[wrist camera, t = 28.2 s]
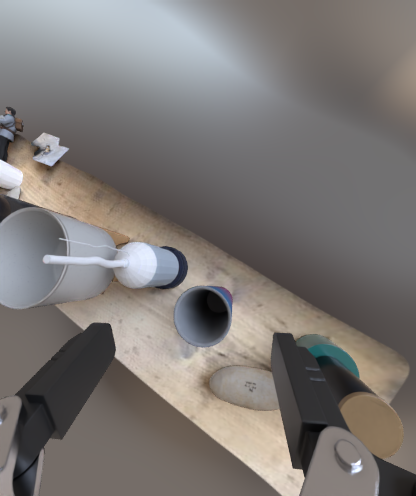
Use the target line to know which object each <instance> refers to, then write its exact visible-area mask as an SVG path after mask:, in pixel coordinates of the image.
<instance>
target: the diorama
mask: <svg viewBox="0 0 416 496" xmlns="http://www.w3.org/2000/svg"><path fill="white" fill-rule="evenodd" d="M59 140H60V138H57V137H55V136H52V135H49V134H46V133H43V134H42V135H41V136H40V137H39V138H37V139H36V140H34V141H33V142H32V143H31V144H32V145H34V146H37V147H38V148H39V150H37V151H36V152H35V153H34V156H33V160H36V161H39V162H41V163H44V164H47V165H49V166H52V165H53V164H54V163H55V162H56V161H57V160H58V159H59V158H60V157H61V156H62V155H64V154H65V153H66V151H68V150H69V148H66V147H62V146H59V145H58V142H59Z"/></svg>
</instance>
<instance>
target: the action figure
mask: <svg viewBox="0 0 416 496" xmlns="http://www.w3.org/2000/svg"><path fill="white" fill-rule="evenodd" d="M5 113H6V114H5V115H0V160H2V161H4V162H6V160H7V157H8V154H7V150H8V146H9V142H11V143H13V139H14V135H15V133H16V130H17V131H20V132H22V131H23V121H22V120H21V119H18V118H15V117H14V115H15V114H16V111H15V110H14V109H13V108H11V107H6V111H5Z"/></svg>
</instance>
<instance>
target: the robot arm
mask: <svg viewBox="0 0 416 496" xmlns="http://www.w3.org/2000/svg"><path fill="white" fill-rule="evenodd" d="M29 207H37V208H42V207H39V206H36V205H33V204H30V203H27V202H24V201H21V200H18V199H15V198H12V197H9V196H6V195H3V194H0V223H1V222H2V221H3V220H4V219H5V218H6V217H7V216H9V215H10V214H12V213H13V212H15V211H18V210H20V209H23V208H29ZM42 209H45V208H42ZM45 210H48V209H45ZM48 211H51V212H54V213H57V214H60V213H58V212H55V211H52V210H48ZM60 215H63V214H60ZM64 216H67V215H64ZM67 217H70V218H73V219H76V218H74V217H71V216H67ZM76 220H77V219H76ZM115 351H116V347H115V342H114V337H113V333H112V328H111V325H110V324H109V323H92V324H90V325H89V326H88V328H87V329H86V330H85V331H84V332H83V333H80V334H78V335H77V336H75V337H73V338H72V339H70V340H69V341H68V342H67V343H66V344H65V345H64V346H63V347H62V348H61V349H60V350H59V352H57V353H56V354H55V355H54V356H53V357H52V358H51V360H49V361H48V362H47V363H46V364H45V365H44V366H43V367H42V368H41V369H40V370H39V371H38V372H37V373H36V375H34V376H33V377H32V378H31V379H30V380H29V381H28V382H27V383H26V384H25V385H24V386H23V388H21V390H20V391H18V392H17V393H16V394H15V395H14V396H7V397H4V398H1V399H0V496H39V494H40V486H41V478H42V470H43V462H44V454H45V450H44V446H45V444H46V443H47V441H48V440H49V438H53V439H63V437H64V435H65V434H66V432H67V431H68V429H69V428H70V426H71V425H72V423H73V421H74V420H75V418H76V416H77V415H78V414H79V412H80V411H81V409H82V407H83V406H84V404H85V403H86V401H87V399H88V398H89V397H90V395H91V393H92V392H93V390H94V388H95V387H96V385H97V384H98V382H99V381H100V379H101V378H102V376H103V375H104V373H105V372H106V370H107V368H108V367H109V365H110V364H111V362H112V360H113V358H114V356H115ZM271 369H272V375H273V380H274V384H275V389H276V393H277V398H278V402H279V407H280V412H281V416H282V421H283V425H284V430H285V434H286V439H287V443H288V448H289V453H290V457H291V462H292V466H293V468H294V469H302V470H303V473H304V477H305V480H304V483H303V486H302V489H301V492H300V495H299V496H416V475H415V474H413V473H411V472H409V471H407V470H404V469H402V468H400V467H398V466H395V465H393V464H391V463H389V462H386V461H384V460H382V459H380V458H379V457H377V456H376V455H374V454H373V453H371V452H370V451H369V450H368V448H367V447H366V446H365V445H364V444H363V442H362V441H361V440H360V439H358V438H357V437H356V436H355V435H353V434H352V432H351V431H350V429H349V427H348V426H347V424H346V421H345V419H344V417H343V415H342V413H341V411H340V409H339V407H338V405H337V403H336V401H335V398H334V396H333V394H332V392H331V390H330V388H329V386H328V384H327V382H326V381H325V377H324V375H323V373H322V372H321V370H320V367H319V365H318V363H317V361H316V359H315V357H314V356H313V355H312V354H311V353H310V352H309V350H308V349H307V348H306V347H299V346H297V345H296V343H295V340H294V338H293V335H292V334H291V333H274V335H273V343H272V352H271Z"/></svg>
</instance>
